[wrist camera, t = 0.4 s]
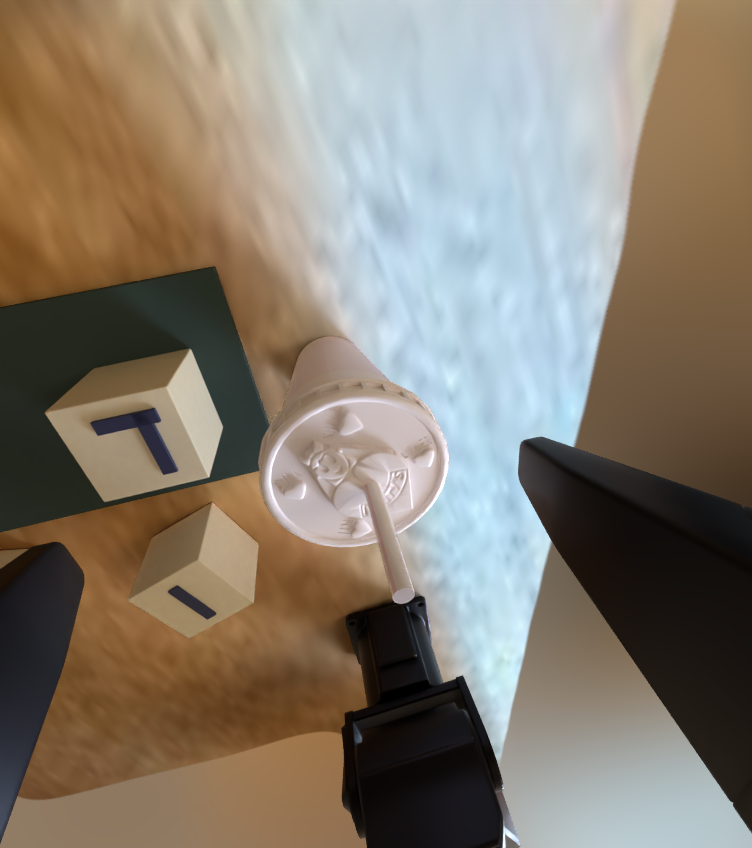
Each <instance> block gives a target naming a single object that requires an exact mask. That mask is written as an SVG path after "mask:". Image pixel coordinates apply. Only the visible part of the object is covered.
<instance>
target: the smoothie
mask: <svg viewBox="0 0 752 848" xmlns="http://www.w3.org/2000/svg"><path fill="white" fill-rule="evenodd" d="M258 464H259V471H260V473H259V482H260V490H261V494H262V497H263V500H264V502H265V505H266V506H267V508H268V510H269V512H270V513H271V514H272V516H273V517H274V518H275V519H276V521H277V522H278V523H279V524H280V525H282V526H283V527H284V528H285V529H286V530H288V531H289V532H291V533H292V534H294V535H296V536H298V537H300V538H302V539H304V540H307V541H310V542H312V543H316V544H320V545H326V546H334V547H355V546H362V545H368V544H372V543H375V542H378V545H379V548H380V552H381V556H382V560H383V564H384V567H385V571H386V575H387V579H388V583H389V586H390V590H391V594H392V598H393V600H394V602H396V603H400V604H402V603H407V602H409V601H410V600H412V599H413V598H414V596H415V592H414V589H413V586H412V582H411V579H410V576H409V573H408V570H407V567H406V564H405V561H404V558H403V555H402V552H401V548H400V545H399V542H398V539H397V536H396V534H398V533H400V532H402V531H403V530H405V529H407V528H408V527H409V526H411V525H412V524H414V523H415V522H416V521H417V520H419V519H420V518H421V517H422V516H423V515H424V514H425V513H426V512H427V511H428V510H429V509H430V507H431V506H432V505H433V504H434V502H435V501H436V499H437V498H438V496H439V494H440V492H441V490H442V488H443V486H444V483H445V481H446V477H447V473H448V467H449V453H448V447H447V443H446V440H445V437H444V435H443V432H442V430H441V429H440V427H439V425H438V423H437V421H436V419H435V417H434V415H433V414H432V412H431V410H430V408H429V407H428V406H427V405H426V404H425V403H424V402H423V401H421V400H420V399H419V398H418V397H417V396H416V395H415V394H414V393H413V392H411V391H409V390H407V389H405V388H403V387H401V386H399V385H397V384H395V383H393V382H391V381H390V380H389V379H388V378H387V377H386V376H385V375H384V374H383V373H382V372H381V371H380V370H379V369H378V368H377V367H376V366H375V365H374V364H373V363H372V362H371V361H370V360H369V359H368V358H367V357H366V356H365V355H364V354H363V353H362V352H361V351H360V350H359V349H358V348H357V347H356V346H355V345H354V344H353V343H351V342H350V341H348V340H346V339H343V338H340V337H335V336H327V337H321V338H318V339H316V340H314V341H312V342H310V343H309V344H308V345H307V346H306V347H305V348H304V349H303V350H302V351H301V353H300V354H299V356H298V359H297V362H296V365H295V368H294V372H293V375H292V378H291V382H290V385H289V388H288V391H287V395H286V398H285V401H284V404H283V408H282V410H281V411H280V412H279V413H278V415H277V416H276V417H275V418H274V419H273V420H272V422H271V424H270V426H269V428H268V430H267V432H266V433H265V435H264V437H263V439H262V443H261V449H260V454H259V460H258Z"/></svg>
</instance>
